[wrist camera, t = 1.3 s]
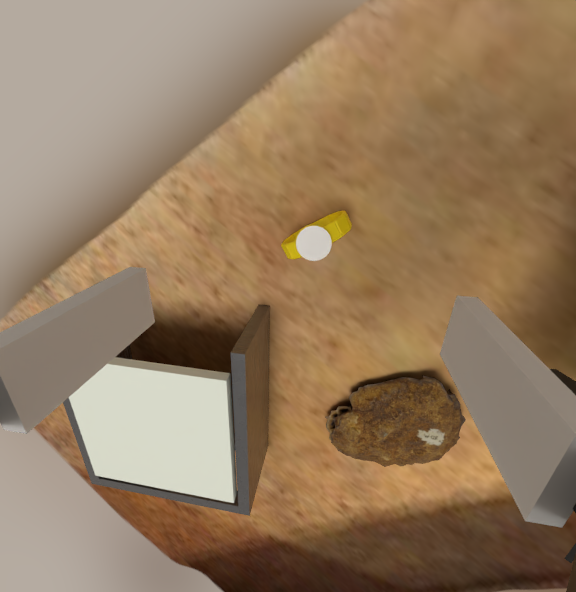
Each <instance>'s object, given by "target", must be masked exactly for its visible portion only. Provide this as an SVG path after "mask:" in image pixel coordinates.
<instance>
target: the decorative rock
mask: <svg viewBox="0 0 576 592" xmlns="http://www.w3.org/2000/svg"><path fill="white" fill-rule="evenodd" d="M349 399H350V402H351V404H352V406H338V408H337V410H332V411H331V415H330V416H329V417H326V418H327V423H326V427H327V429H328V431H329V432H330V437H329V439H330V440H331V443H332V444H333V445H334V446H335V447H336V448H337V450H338V451H340V452H342V453H343V454H345V455H347V456H351V457H352V458H355V459H360V460H367V461H375V462H377V463H379V464H381V465H382V466H384V467H386V466H389V465H392V464H397V465H399V466H404V465H406V464H410V465H412V464H414V463H421V464H424V463H427V462H430V461H434V460H439V459H440V458H442V456H443V455H444V454H445V453H446V452H447V451H449V450H450V448H451V447H452V446H454V445H455V444H456V443H457V440H458V439H459V438H460V437H459V431H460V428H461V426H462V424H463V423H464V422H465V418H464V416H463V415H462V414H461V409H460V403H459V401H458V400H457V398H456V396H455V395H454V394H452V393H451V392H450V390H449V391H448V394H447V392H446V390H445V388H444V386H443V384H442V383H441V382H440V381H438V380H437V379H435V378H432V377H426V376H423V379H421V380H418V379H414V378H407V377H401V378H397V379H393V380H389V381H385V382H382V383H377V384H372V385H365V386H364V387H359V388H358V391H356V392H353V393H352V394H351V395H350V397H349Z"/></svg>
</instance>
